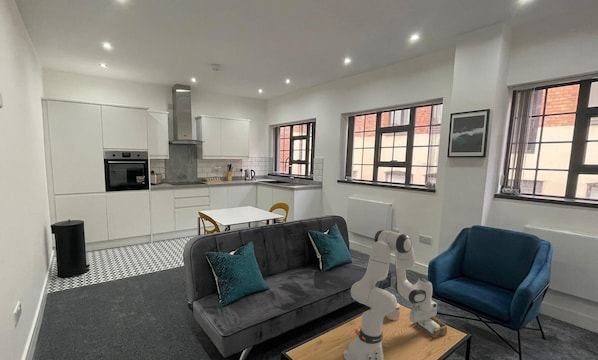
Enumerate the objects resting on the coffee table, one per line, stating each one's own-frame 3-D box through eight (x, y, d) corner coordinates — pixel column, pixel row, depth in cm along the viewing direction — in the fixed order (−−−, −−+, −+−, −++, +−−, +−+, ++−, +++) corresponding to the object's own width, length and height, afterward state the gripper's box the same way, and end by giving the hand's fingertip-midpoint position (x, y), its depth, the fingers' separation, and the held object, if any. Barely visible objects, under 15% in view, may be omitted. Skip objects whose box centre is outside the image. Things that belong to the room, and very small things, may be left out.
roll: (430, 329, 173) (434, 337, 175) (438, 322, 175) (441, 330, 177) (415, 318, 185) (419, 326, 186) (423, 311, 186) (426, 319, 188)
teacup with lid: (402, 320, 190) (402, 304, 189) (388, 321, 189) (389, 304, 188) (394, 310, 202) (395, 295, 201) (382, 311, 201) (382, 295, 200)
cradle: (435, 338, 172) (435, 329, 171) (413, 323, 187) (414, 315, 186) (446, 334, 176) (447, 325, 176) (424, 320, 191) (425, 311, 190)
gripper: (415, 310, 170) (414, 332, 171) (439, 303, 178) (437, 324, 180) (407, 305, 175) (406, 326, 177) (430, 298, 184) (429, 318, 185)
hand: (422, 325), depth 178 cm, fingers closed
